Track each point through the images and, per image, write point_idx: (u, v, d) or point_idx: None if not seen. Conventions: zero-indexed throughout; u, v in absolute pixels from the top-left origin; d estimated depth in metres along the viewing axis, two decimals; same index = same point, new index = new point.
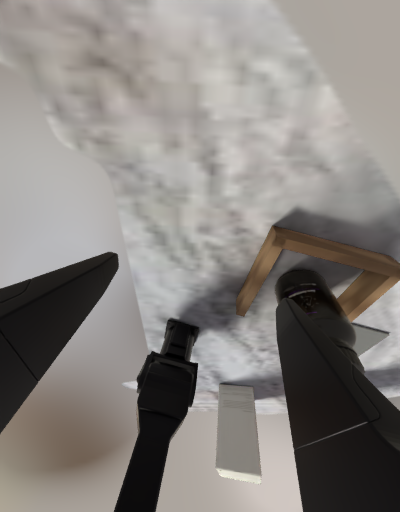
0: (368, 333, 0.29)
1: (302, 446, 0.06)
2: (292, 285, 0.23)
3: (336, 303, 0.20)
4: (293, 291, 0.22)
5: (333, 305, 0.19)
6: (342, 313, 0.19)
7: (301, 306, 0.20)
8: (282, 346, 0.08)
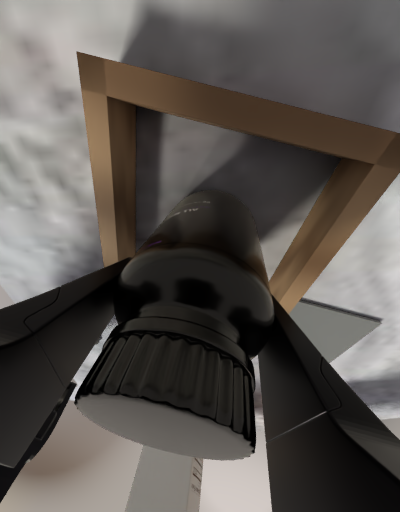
0: (345, 320, 0.17)
1: (273, 438, 0.06)
2: (171, 212, 0.11)
3: (236, 230, 0.08)
4: (164, 220, 0.10)
5: (221, 230, 0.07)
6: (236, 246, 0.07)
7: (149, 238, 0.08)
8: None
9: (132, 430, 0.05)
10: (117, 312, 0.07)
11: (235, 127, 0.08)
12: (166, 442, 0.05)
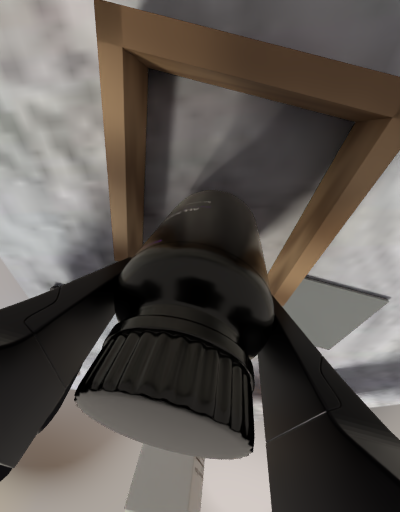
0: (352, 299, 0.17)
1: (273, 438, 0.06)
2: (172, 212, 0.11)
3: (237, 230, 0.08)
4: (165, 219, 0.10)
5: (221, 229, 0.07)
6: (237, 245, 0.07)
7: (150, 238, 0.08)
8: None
9: (131, 428, 0.05)
10: (117, 311, 0.07)
11: (252, 79, 0.08)
12: (165, 440, 0.05)
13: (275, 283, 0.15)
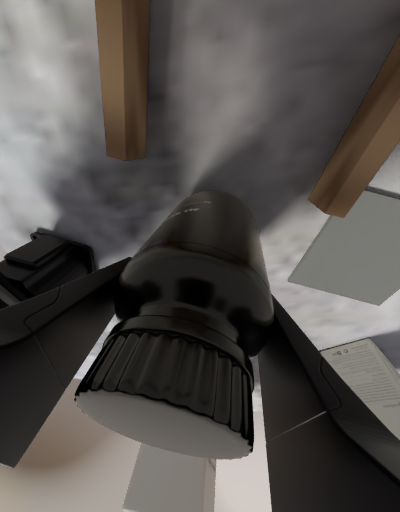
0: None
1: (273, 438, 0.06)
2: (172, 212, 0.11)
3: (237, 230, 0.08)
4: None
5: (221, 229, 0.07)
6: (236, 246, 0.07)
7: (150, 238, 0.08)
8: None
9: (131, 428, 0.05)
10: (117, 311, 0.07)
11: None
12: (165, 440, 0.05)
13: (333, 185, 0.11)
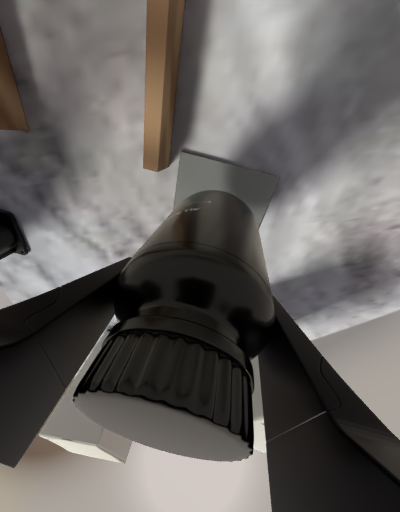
0: (244, 178, 0.16)
1: (273, 438, 0.06)
2: None
3: (237, 230, 0.08)
4: (165, 219, 0.10)
5: (222, 229, 0.07)
6: (237, 246, 0.07)
7: (150, 238, 0.08)
8: None
9: (130, 429, 0.05)
10: (117, 311, 0.07)
11: None
12: (164, 442, 0.05)
13: None
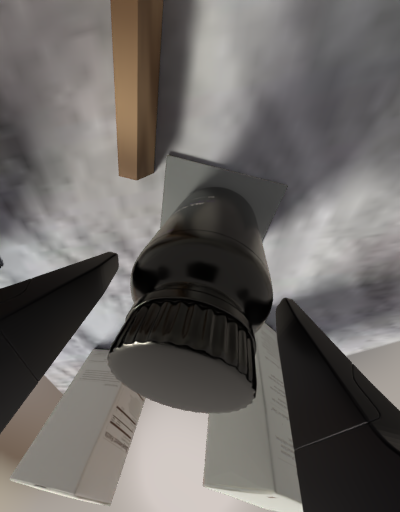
0: (244, 187, 0.13)
1: (302, 446, 0.06)
2: (178, 207, 0.12)
3: (239, 221, 0.09)
4: (172, 214, 0.11)
5: (225, 220, 0.08)
6: (239, 233, 0.08)
7: (161, 229, 0.09)
8: (282, 346, 0.08)
9: (153, 384, 0.06)
10: (135, 292, 0.08)
11: None
12: (181, 396, 0.06)
13: None
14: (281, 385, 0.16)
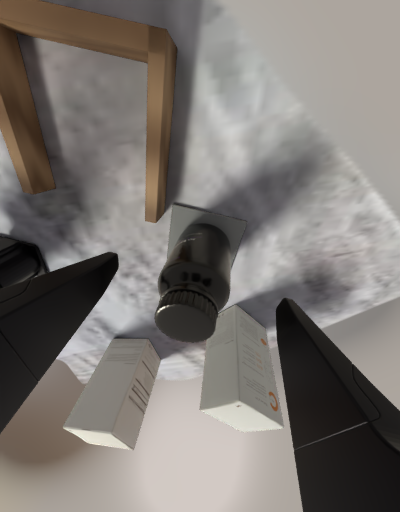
0: (221, 222, 0.21)
1: (302, 446, 0.06)
2: (180, 238, 0.20)
3: (213, 250, 0.17)
4: (177, 243, 0.19)
5: (205, 251, 0.16)
6: (212, 258, 0.16)
7: (172, 255, 0.17)
8: (282, 346, 0.08)
9: (173, 326, 0.14)
10: (161, 288, 0.16)
11: (57, 29, 0.12)
12: (185, 331, 0.14)
13: None
14: (251, 350, 0.24)
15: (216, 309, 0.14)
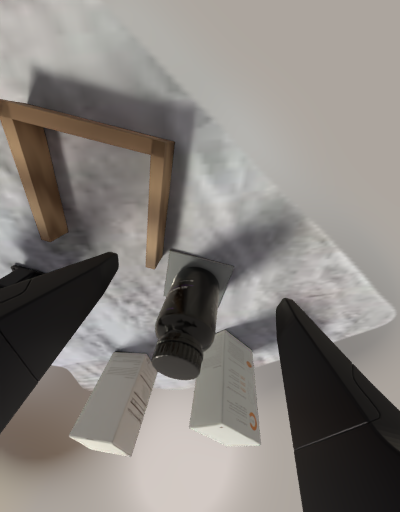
0: (211, 266, 0.25)
1: (302, 446, 0.06)
2: (175, 282, 0.23)
3: (202, 299, 0.20)
4: (172, 288, 0.22)
5: (195, 301, 0.20)
6: (200, 309, 0.19)
7: (167, 302, 0.20)
8: (282, 346, 0.08)
9: (166, 368, 0.17)
10: (157, 332, 0.19)
11: (78, 135, 0.16)
12: (176, 372, 0.17)
13: None
14: (236, 374, 0.28)
15: (201, 355, 0.17)
